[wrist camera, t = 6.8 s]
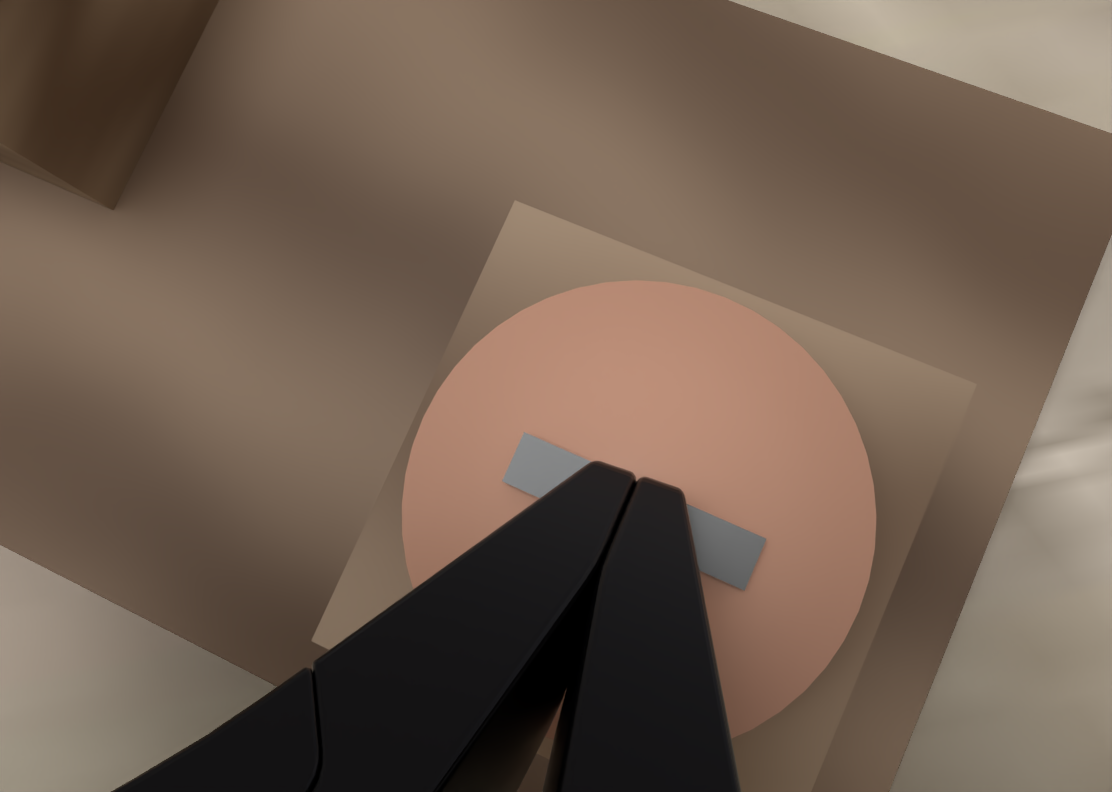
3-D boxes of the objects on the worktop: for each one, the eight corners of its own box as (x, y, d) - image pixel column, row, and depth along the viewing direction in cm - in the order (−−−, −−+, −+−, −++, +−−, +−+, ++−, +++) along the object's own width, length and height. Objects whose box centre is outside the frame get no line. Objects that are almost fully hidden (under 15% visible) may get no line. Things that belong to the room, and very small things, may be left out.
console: (806, 925, 16) (907, 1207, 9) (-294, 369, 20) (-791, 280, 13) (1106, 179, 18) (1390, -57, 11) (16, -208, 21) (-292, -564, 15)
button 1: (748, 797, 10) (764, 852, 8) (375, 615, 11) (317, 630, 9) (907, 410, 10) (956, 383, 9) (538, 260, 11) (514, 206, 9)
